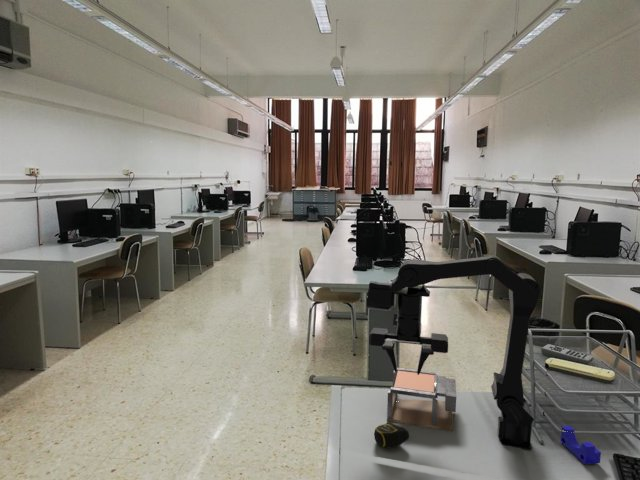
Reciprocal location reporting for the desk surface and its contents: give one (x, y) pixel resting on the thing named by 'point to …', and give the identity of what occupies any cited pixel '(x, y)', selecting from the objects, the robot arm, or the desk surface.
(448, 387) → the trapdoor
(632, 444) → the desk surface
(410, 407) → the framed copper bin
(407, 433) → the tape measure
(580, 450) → the cable holder
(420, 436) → the desk surface
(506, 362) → the robot arm
